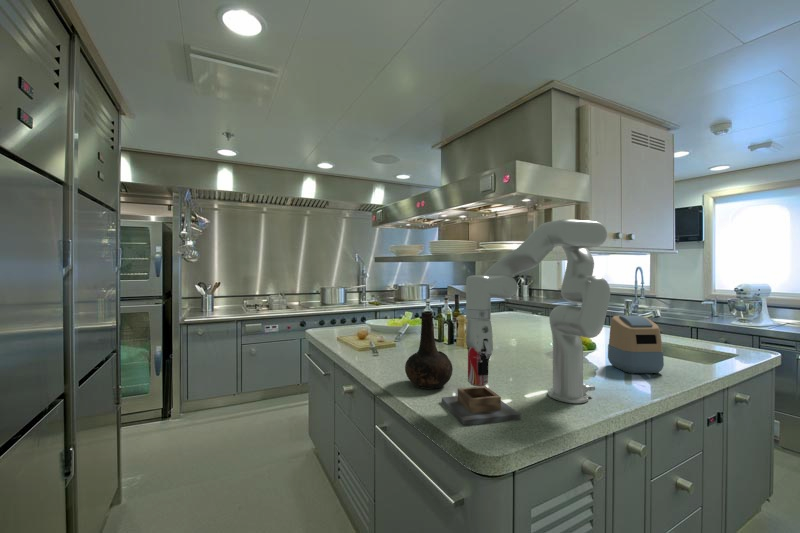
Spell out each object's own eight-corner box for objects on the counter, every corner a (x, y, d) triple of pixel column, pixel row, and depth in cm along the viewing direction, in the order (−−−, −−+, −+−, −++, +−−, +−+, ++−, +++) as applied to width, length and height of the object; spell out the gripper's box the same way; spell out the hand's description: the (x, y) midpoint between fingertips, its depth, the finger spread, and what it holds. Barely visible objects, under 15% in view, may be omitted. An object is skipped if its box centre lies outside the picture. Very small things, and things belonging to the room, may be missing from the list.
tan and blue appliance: (628, 375, 144) (628, 319, 144) (604, 364, 161) (604, 314, 161) (668, 375, 145) (668, 319, 145) (640, 364, 161) (639, 314, 161)
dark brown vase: (462, 387, 130) (461, 312, 130) (422, 397, 121) (422, 316, 121) (433, 375, 145) (433, 308, 145) (396, 382, 136) (396, 310, 136)
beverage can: (469, 380, 114) (470, 343, 114) (489, 382, 111) (489, 345, 111) (465, 386, 108) (466, 347, 108) (486, 388, 106) (486, 349, 106)
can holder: (490, 397, 120) (490, 381, 121) (520, 419, 103) (520, 400, 103) (441, 401, 116) (441, 385, 116) (463, 425, 99) (463, 406, 99)
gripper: (503, 318, 102) (503, 379, 102) (477, 311, 119) (476, 363, 119) (479, 318, 100) (479, 381, 100) (456, 311, 117) (456, 365, 117)
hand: (478, 371), depth 110 cm, fingers closed on beverage can, 6 cm apart
